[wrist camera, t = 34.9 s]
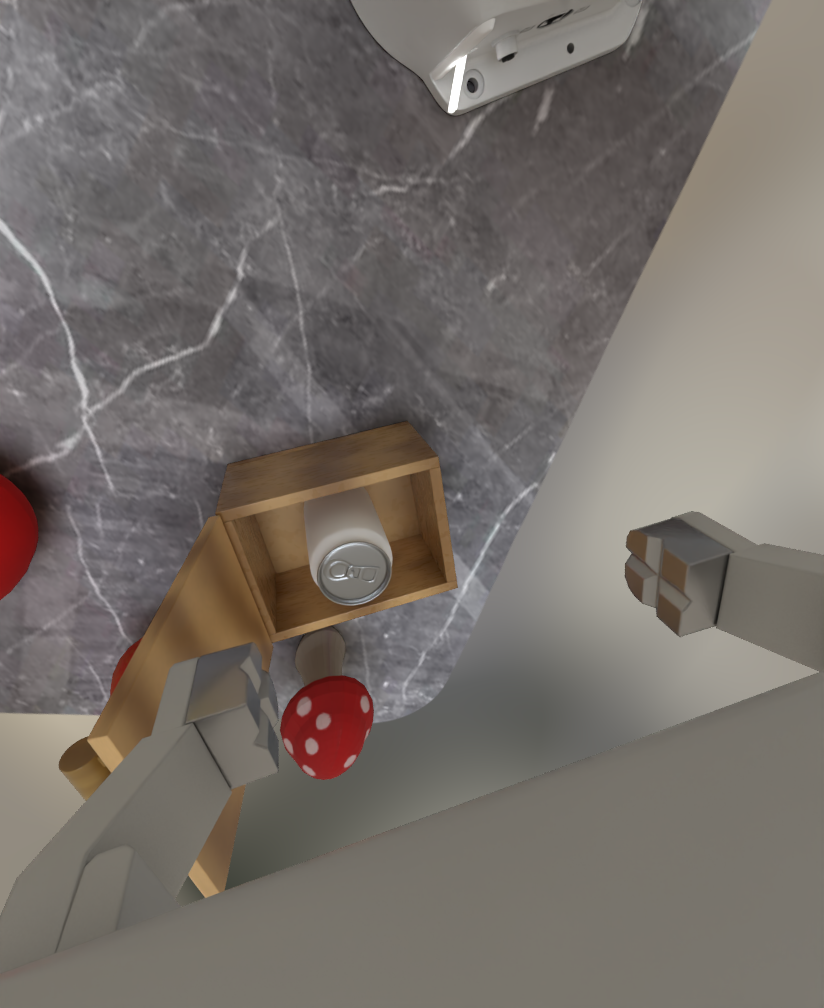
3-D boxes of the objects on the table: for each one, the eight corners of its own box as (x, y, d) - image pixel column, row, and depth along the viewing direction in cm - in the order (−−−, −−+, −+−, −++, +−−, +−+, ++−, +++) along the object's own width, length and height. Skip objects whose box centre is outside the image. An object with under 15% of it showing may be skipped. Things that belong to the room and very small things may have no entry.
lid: (106, 735, 18) (-21, 762, 18) (223, 898, 24) (128, 919, 24) (219, 514, 34) (152, 527, 34) (273, 647, 40) (216, 658, 40)
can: (311, 468, 44) (322, 530, 33) (378, 482, 46) (408, 544, 36) (296, 529, 46) (301, 605, 36) (360, 540, 48) (383, 614, 38)
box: (407, 420, 45) (438, 456, 37) (427, 534, 51) (457, 587, 43) (227, 463, 43) (214, 512, 34) (270, 578, 49) (268, 644, 40)
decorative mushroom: (342, 683, 57) (362, 805, 44) (269, 677, 54) (267, 806, 41) (369, 616, 54) (398, 727, 41) (293, 605, 51) (298, 722, 38)
